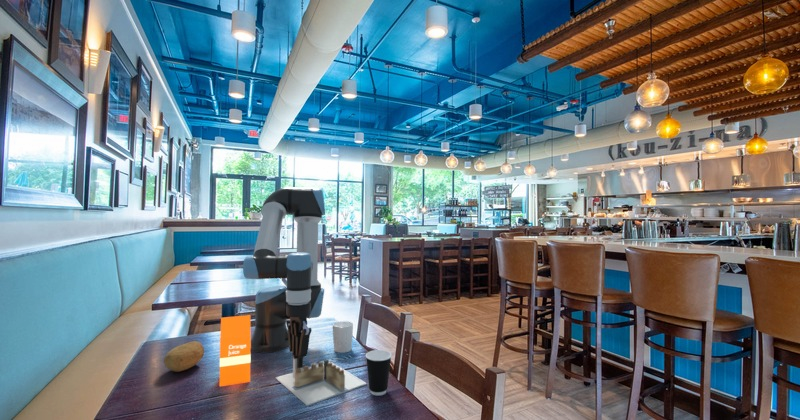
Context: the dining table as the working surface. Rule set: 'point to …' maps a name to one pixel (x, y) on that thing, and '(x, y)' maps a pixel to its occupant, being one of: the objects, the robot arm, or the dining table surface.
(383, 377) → the dixie cup
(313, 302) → the robot arm
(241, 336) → the orange juice
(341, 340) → the white cup
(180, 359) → the potato
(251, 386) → the dining table surface
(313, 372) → the beige crenellated panel
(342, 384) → the fixed fence panel
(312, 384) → the card
